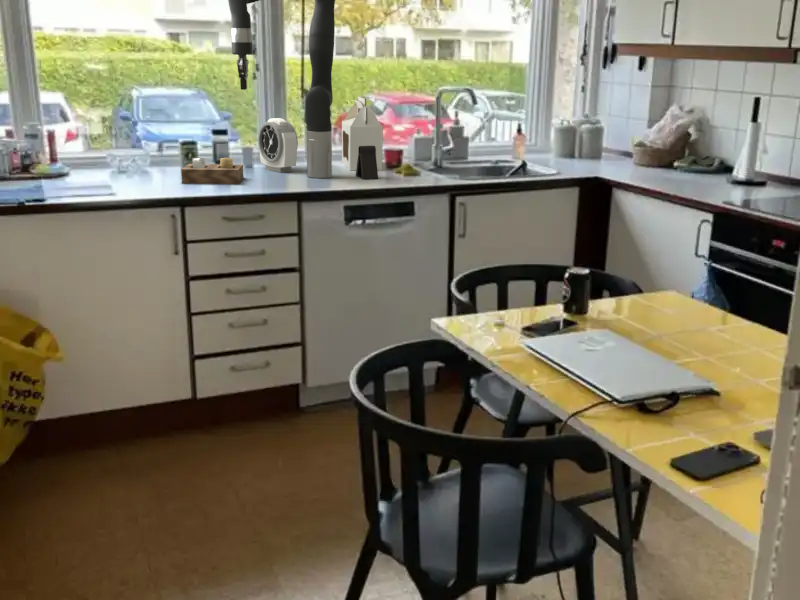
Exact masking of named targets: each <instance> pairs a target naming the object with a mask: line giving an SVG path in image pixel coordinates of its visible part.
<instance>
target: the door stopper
mask: <svg viewBox="0 0 800 600" xmlns="http://www.w3.org/2000/svg"><path fill="white" fill-rule="evenodd" d="M378 171H379V170H377V161H376V147H375V146H359V148H358V161H357V168H356V171H355V177H356V178H359V179H361V180H365V181H366V180H379V172H378Z"/></svg>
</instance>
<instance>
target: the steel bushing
mask: <svg viewBox="0 0 800 600" xmlns="http://www.w3.org/2000/svg"><path fill="white" fill-rule="evenodd" d="M191 159H192V163H191V164H193V168H205V164H206V158H205V157H192V158H191Z"/></svg>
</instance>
